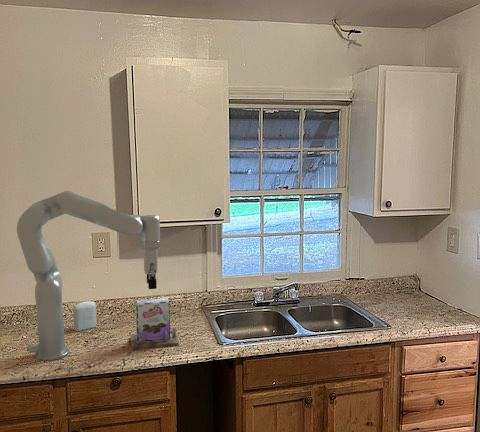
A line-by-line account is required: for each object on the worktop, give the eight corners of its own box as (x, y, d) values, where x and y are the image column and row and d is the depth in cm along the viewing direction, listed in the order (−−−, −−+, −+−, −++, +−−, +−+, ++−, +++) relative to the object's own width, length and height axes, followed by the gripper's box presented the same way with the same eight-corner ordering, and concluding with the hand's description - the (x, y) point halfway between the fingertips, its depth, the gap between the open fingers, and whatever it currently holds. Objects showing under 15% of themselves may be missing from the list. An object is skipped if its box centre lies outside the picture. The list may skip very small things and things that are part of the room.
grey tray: (131, 350, 197) (131, 337, 196) (130, 337, 210) (130, 326, 210) (178, 345, 202) (178, 333, 201) (174, 333, 215) (174, 322, 214)
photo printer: (93, 324, 228) (92, 298, 227) (98, 326, 225) (97, 300, 224) (72, 330, 221) (71, 303, 220) (77, 332, 218) (75, 305, 216)
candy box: (137, 342, 201) (135, 303, 199) (136, 337, 207) (135, 299, 205) (170, 339, 205) (169, 301, 203) (169, 334, 210) (168, 297, 208)
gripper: (140, 242, 209) (141, 281, 210) (142, 249, 192) (143, 291, 194) (158, 241, 210) (158, 280, 212) (162, 248, 194) (162, 290, 196)
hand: (151, 285), depth 203 cm, fingers open, 9 cm apart
